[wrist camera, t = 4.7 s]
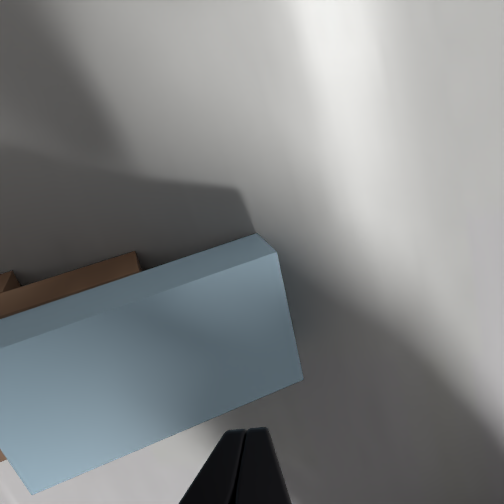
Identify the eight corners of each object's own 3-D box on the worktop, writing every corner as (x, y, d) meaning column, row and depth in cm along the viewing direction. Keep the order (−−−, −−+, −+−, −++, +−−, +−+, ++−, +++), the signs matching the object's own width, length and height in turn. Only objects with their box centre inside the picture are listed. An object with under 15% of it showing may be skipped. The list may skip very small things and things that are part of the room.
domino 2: (277, 251, 11) (-55, 367, 9) (303, 379, 13) (31, 495, 11) (256, 232, 12) (-34, 330, 11) (283, 350, 14) (39, 449, 12)
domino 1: (138, 270, 11) (-196, 379, 10) (182, 389, 13) (-93, 498, 12) (135, 251, 13) (-158, 343, 11) (174, 361, 15) (-72, 454, 13)
